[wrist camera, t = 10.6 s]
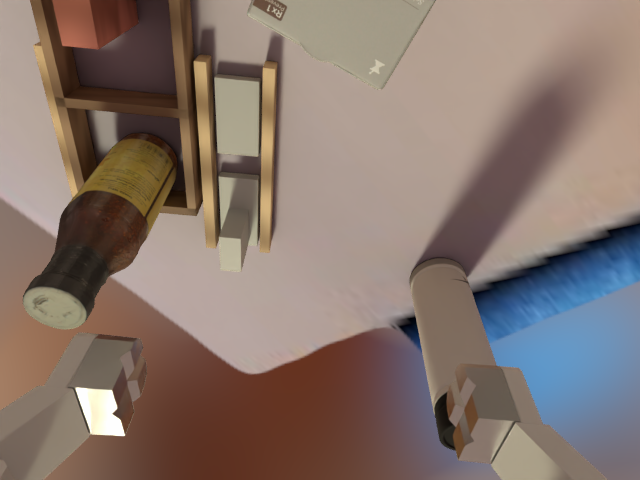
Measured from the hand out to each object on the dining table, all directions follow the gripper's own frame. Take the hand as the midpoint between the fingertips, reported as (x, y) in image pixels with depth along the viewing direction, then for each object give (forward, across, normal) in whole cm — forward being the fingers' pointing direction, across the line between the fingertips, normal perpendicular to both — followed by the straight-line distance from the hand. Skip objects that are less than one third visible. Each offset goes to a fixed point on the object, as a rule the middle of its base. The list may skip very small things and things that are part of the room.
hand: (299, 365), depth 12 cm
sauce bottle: (+33, +16, +12) cm, 39 cm away
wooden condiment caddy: (+33, +16, +5) cm, 37 cm away
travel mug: (+33, -15, +24) cm, 44 cm away
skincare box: (+33, -1, -6) cm, 34 cm away
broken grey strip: (+33, +7, +12) cm, 36 cm away
